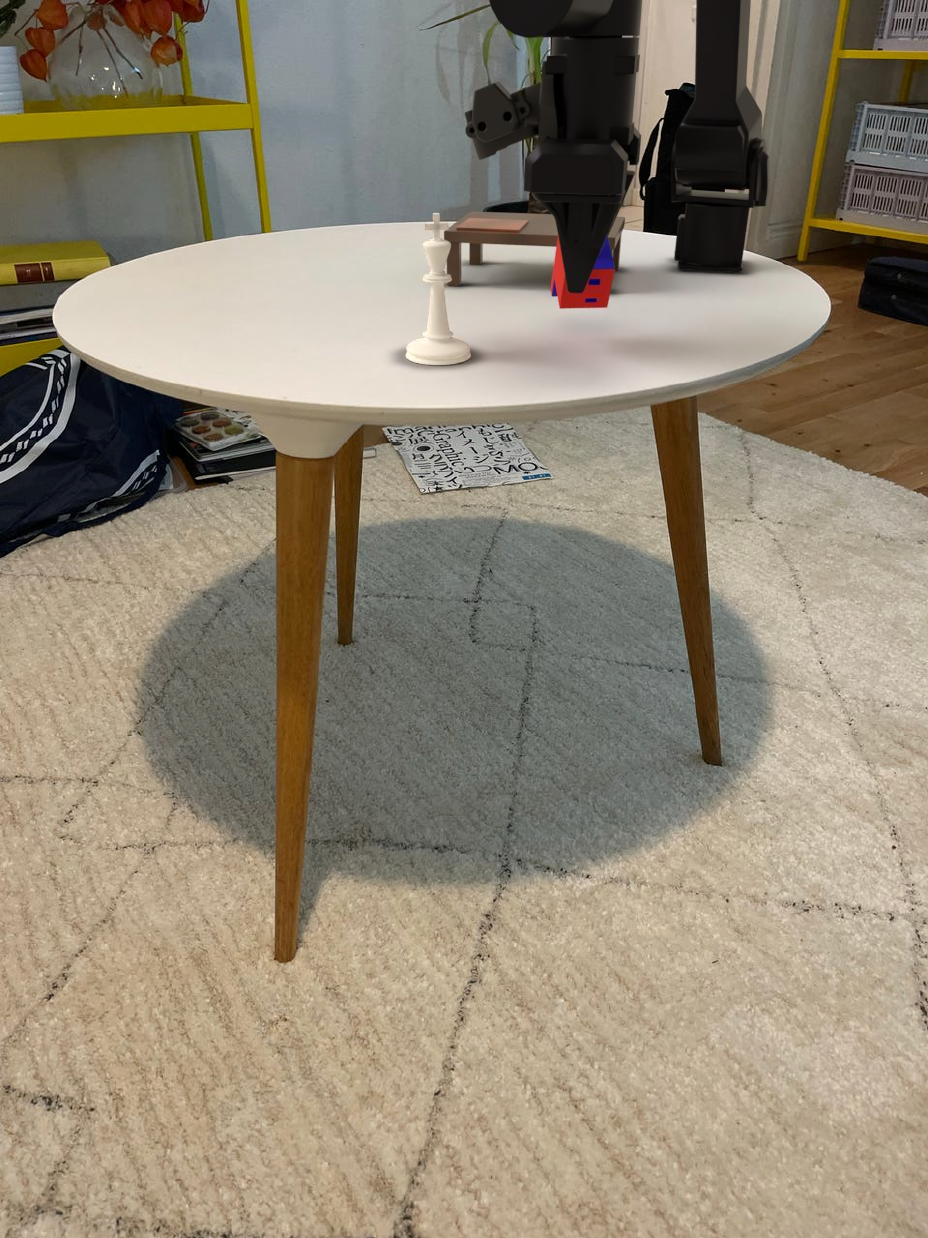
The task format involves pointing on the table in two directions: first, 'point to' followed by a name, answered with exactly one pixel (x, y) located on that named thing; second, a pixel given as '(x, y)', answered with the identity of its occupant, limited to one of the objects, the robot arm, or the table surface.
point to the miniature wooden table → (509, 236)
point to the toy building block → (596, 285)
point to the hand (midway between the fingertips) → (580, 282)
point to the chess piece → (437, 308)
